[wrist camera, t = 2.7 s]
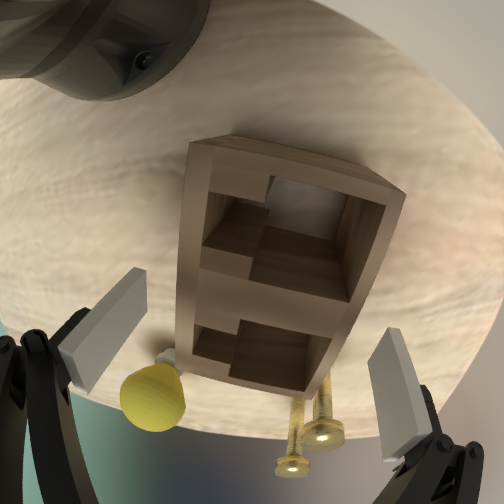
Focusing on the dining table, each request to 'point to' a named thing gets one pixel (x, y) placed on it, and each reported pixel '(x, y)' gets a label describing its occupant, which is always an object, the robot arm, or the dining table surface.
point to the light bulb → (154, 394)
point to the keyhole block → (272, 266)
